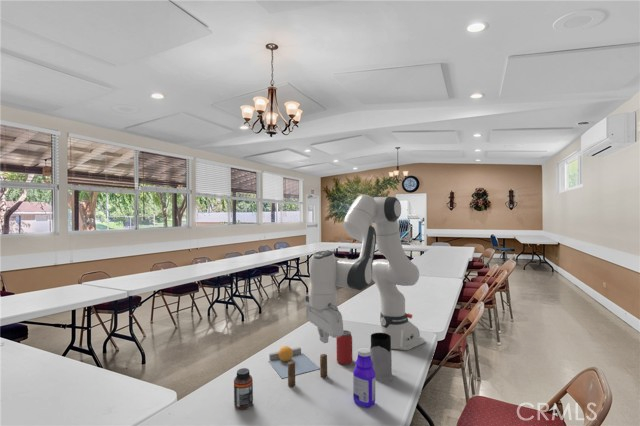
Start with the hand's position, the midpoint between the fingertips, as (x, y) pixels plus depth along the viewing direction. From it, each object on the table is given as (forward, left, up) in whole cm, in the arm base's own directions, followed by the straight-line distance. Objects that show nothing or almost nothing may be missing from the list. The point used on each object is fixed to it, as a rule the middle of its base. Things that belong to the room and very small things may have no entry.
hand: (323, 341), depth 111 cm
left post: (+6, -13, -19) cm, 24 cm away
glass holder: (-28, -5, -19) cm, 34 cm away
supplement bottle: (+25, -9, -19) cm, 33 cm away
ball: (+1, -32, -16) cm, 36 cm away
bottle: (-10, +9, -19) cm, 23 cm away
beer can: (-20, -20, -19) cm, 34 cm away
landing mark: (0, -27, -19) cm, 33 cm away
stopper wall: (0, -36, -19) cm, 41 cm away
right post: (-7, -13, -19) cm, 24 cm away
